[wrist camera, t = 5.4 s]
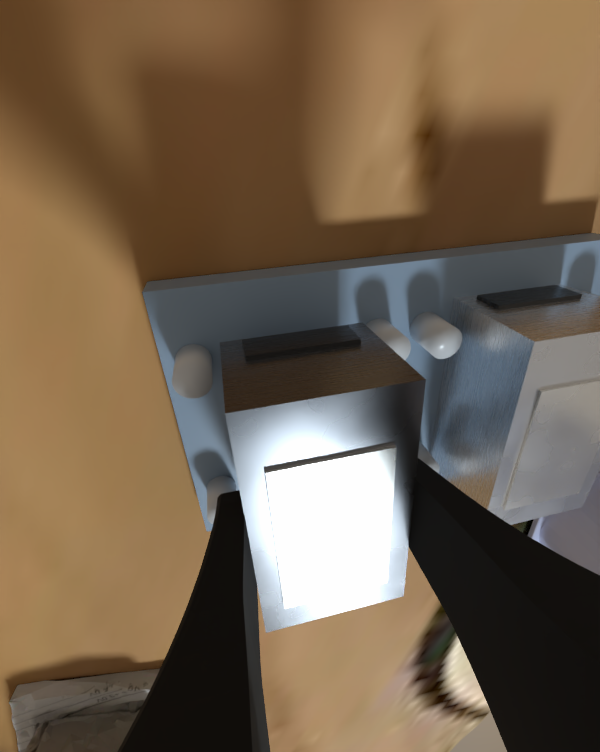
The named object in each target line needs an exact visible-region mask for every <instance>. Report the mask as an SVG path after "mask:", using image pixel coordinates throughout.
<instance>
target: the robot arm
mask: <svg viewBox="0 0 600 752" xmlns="http://www.w3.org/2000/svg"><path fill="white" fill-rule="evenodd" d="M409 548H410V550H411V551H412V553H413V555H414V557H415V559H416V560H417V562H418V564H419V566H420V567H421V569H422V571H423V573H424V575H425V576H426V578H427V580H428V582H429V583H430V585H431V587H432V589H433V590H434V592H435V594H436V596H437V597H438V599H439V601H440V603H441V605H442V606H443V608H444V610H445V612H446V614H447V616H448V617H449V619H450V621H451V623H452V625H453V627H454V629H455V631H456V634H457V636H458V638H459V640H460V642H461V645H462V647H463V649H464V651H465V653H466V656H467V658H468V660H469V662H470V664H471V667H472V669H473V671H474V673H475V676H476V678H477V680H478V683H479V685H480V687H481V690H482V692H483V694H484V696H485V699H486V701H487V703H488V706H489V708H490V710H491V713H492V715H493V718H494V720H495V723H496V725H497V727H498V730H499V732H500V735H501V737H502V740H503V742H504V744H505V747H506V749H507V752H600V470H599V472H598V474H597V476H596V479H595V481H594V483H593V485H592V487H591V489H590V492H589V494H588V496H587V498H586V500H585V503H584V505H583V507H582V508H578V509H574V510H570V511H565V512H561V513H557V514H553V515H549V516H545V517H541V518H537V519H534V520H533V522H532V525H531V528H530V530H529V533H528V536H527V535H525V534H524V533H522V532H521V531H519V530H517V529H516V528H514V527H513V526H511V525H510V524H508V523H507V522H505V521H504V520H502V519H501V518H499V517H498V516H496V515H494V514H493V513H492V512H490V511H489V510H487V509H486V508H484V507H483V506H481V505H480V504H479V503H477V502H476V501H475V500H473V499H472V498H470V497H469V496H468V495H466V494H465V493H463V492H462V491H461V490H459V489H458V488H457V487H455V486H454V485H453V484H452V483H450V482H449V481H448V480H446V479H445V478H444V477H442V476H441V475H440V474H438V473H437V472H436V471H435V470H433V469H432V468H431V467H429V466H428V465H427V464H426V463H424V462H423V461H422V460H420V459H419V458H418V460H417V470H416V479H415V488H414V498H413V508H412V518H411V528H410V538H409ZM117 752H270V746H269V738H268V729H267V721H266V713H265V704H264V696H263V688H262V678H261V665H260V645H259V622H258V599H257V581H256V576H255V570H254V565H253V559H252V554H251V548H250V543H249V537H248V532H247V526H246V520H245V516H244V512H243V506H242V501H241V496H240V490H237V491H232V492H227V493H222V494H220V495H219V496H218V498H217V507H216V512H215V518H214V522H213V527H212V531H211V535H210V539H209V542H208V546H207V549H206V552H205V556H204V559H203V563H202V566H201V569H200V572H199V575H198V578H197V581H196V583H195V586H194V589H193V592H192V594H191V597H190V600H189V603H188V605H187V608H186V611H185V613H184V616H183V618H182V621H181V623H180V625H179V628H178V630H177V633H176V635H175V637H174V639H173V642H172V644H171V646H170V649H169V651H168V653H167V655H166V657H165V660H164V662H163V664H162V666H161V668H160V670H159V672H158V674H157V676H156V679H155V681H154V683H153V685H152V687H151V689H150V691H149V693H148V695H147V697H146V699H145V701H144V703H143V705H142V707H141V709H140V711H139V713H138V714H137V716H136V718H135V720H134V722H133V724H132V726H131V727H130V729H129V731H128V733H127V735H126V737H125V738H124V740H123V742H122V744H121V746H120V748H119V750H118V751H117Z"/></svg>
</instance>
